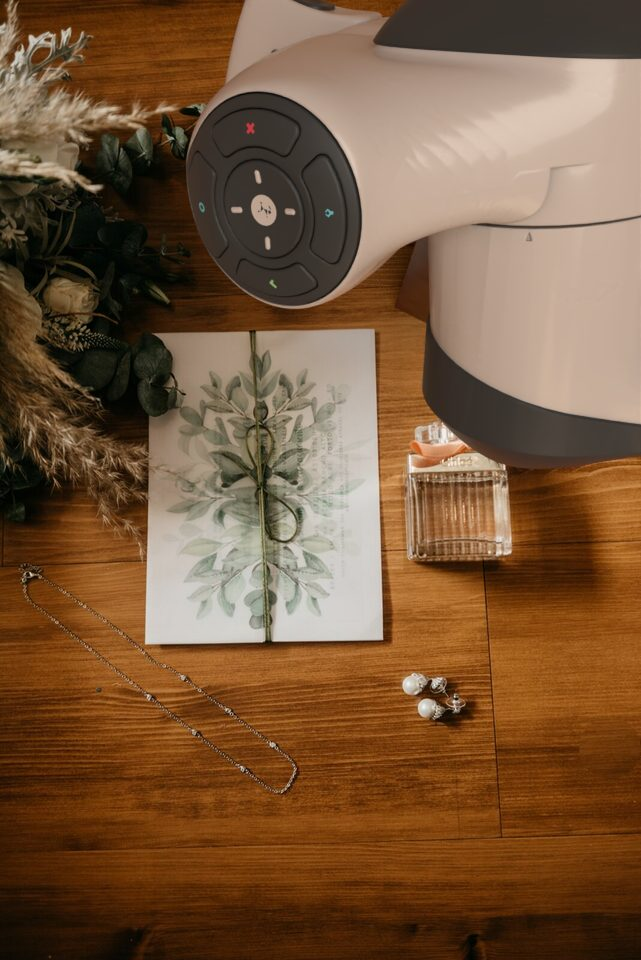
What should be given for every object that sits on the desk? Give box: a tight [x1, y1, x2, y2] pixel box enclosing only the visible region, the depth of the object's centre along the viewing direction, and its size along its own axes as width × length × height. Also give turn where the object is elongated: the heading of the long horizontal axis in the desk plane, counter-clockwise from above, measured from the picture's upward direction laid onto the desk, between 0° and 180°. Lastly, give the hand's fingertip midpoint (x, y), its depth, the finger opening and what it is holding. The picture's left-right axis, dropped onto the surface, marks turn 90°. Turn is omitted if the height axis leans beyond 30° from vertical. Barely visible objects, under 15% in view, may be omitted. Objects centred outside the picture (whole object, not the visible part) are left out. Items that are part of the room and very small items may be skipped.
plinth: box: [395, 236, 430, 324], centre depth 72 cm, size 7×7×23 cm
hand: (439, 83), depth 46 cm, fingers open, 8 cm apart
